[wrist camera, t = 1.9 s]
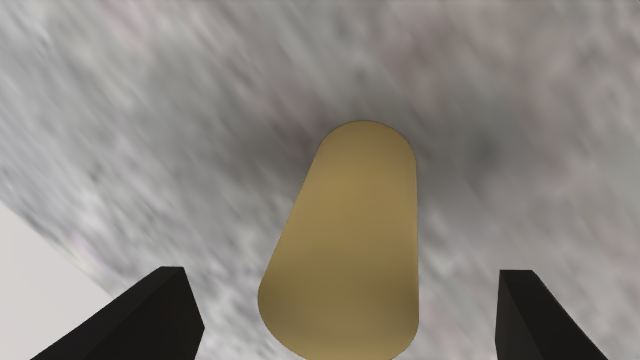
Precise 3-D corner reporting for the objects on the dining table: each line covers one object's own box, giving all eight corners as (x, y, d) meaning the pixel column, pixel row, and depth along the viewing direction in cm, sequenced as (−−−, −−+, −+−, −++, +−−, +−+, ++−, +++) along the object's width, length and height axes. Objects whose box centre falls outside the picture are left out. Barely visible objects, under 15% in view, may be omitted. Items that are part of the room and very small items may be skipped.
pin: (414, 117, 15) (416, 248, 9) (417, 209, 16) (421, 373, 10) (308, 124, 15) (242, 247, 9) (322, 211, 17) (273, 363, 11)
